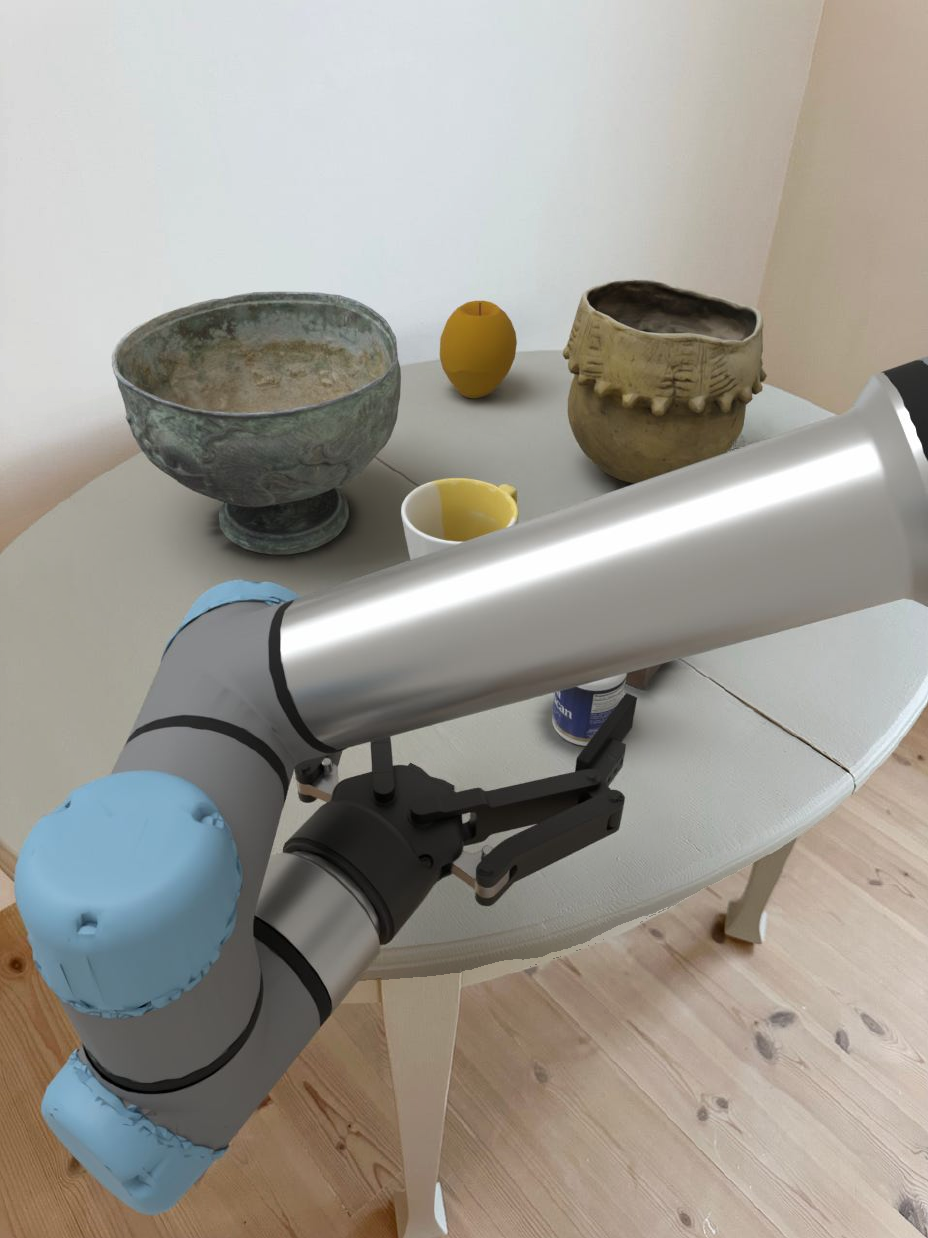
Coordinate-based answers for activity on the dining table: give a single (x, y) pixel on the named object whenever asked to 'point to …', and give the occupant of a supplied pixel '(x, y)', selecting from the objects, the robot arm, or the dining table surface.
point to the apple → (477, 348)
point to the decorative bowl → (264, 407)
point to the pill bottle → (586, 708)
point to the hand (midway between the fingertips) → (536, 668)
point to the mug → (455, 513)
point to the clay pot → (660, 376)
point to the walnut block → (641, 676)
